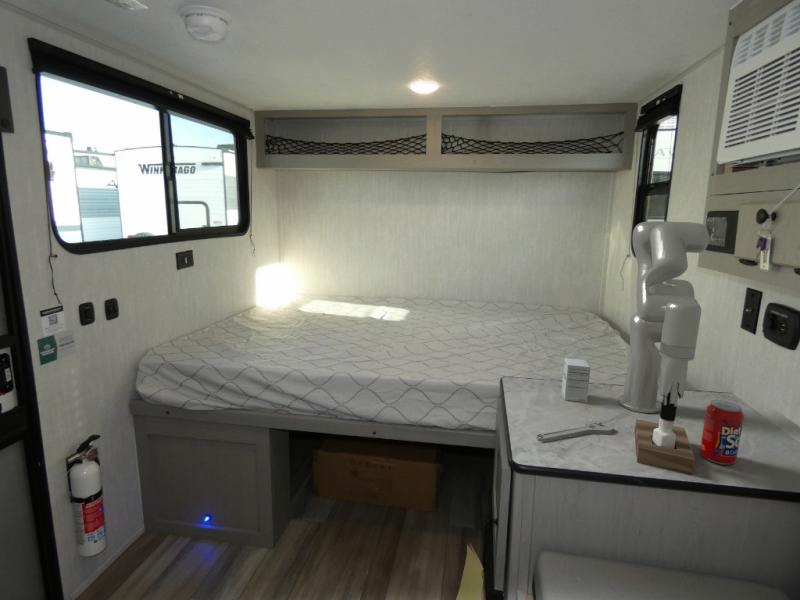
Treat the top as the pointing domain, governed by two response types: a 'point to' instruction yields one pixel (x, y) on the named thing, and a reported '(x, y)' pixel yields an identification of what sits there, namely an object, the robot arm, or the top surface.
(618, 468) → the top surface
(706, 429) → the soda can
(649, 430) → the socket block
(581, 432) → the adjustable wrench
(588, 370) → the supplement box
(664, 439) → the pepper shaker
